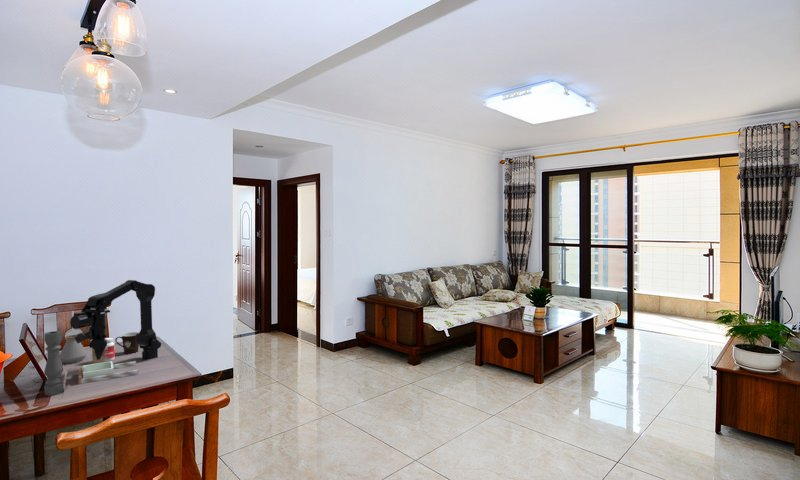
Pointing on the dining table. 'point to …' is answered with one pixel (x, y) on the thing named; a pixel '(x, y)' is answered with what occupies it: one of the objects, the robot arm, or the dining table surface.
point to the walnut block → (94, 359)
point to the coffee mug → (129, 343)
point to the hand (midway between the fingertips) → (98, 358)
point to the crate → (98, 369)
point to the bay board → (110, 376)
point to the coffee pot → (72, 350)
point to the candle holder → (53, 364)
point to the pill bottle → (109, 350)
